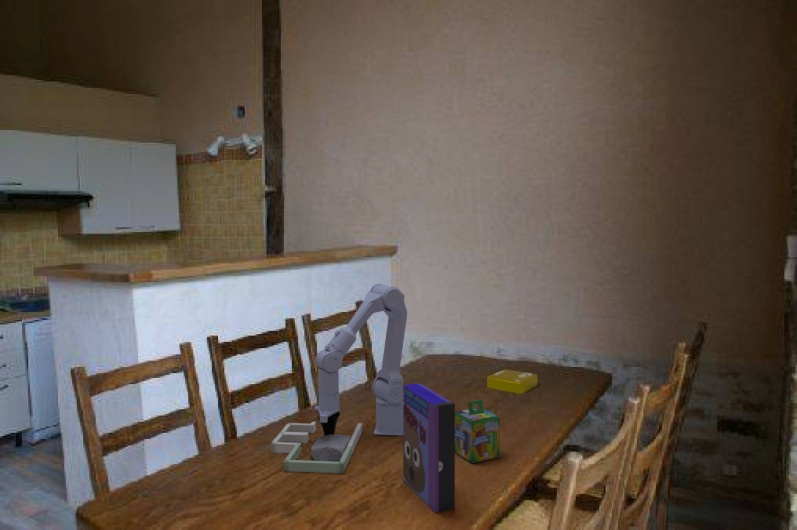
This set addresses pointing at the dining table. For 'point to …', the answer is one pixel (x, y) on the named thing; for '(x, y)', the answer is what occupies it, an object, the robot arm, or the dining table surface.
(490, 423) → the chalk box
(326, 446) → the stone block
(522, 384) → the element tile
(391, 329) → the robot arm
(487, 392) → the dining table surface
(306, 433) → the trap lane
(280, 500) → the dining table surface
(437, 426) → the cereal box
